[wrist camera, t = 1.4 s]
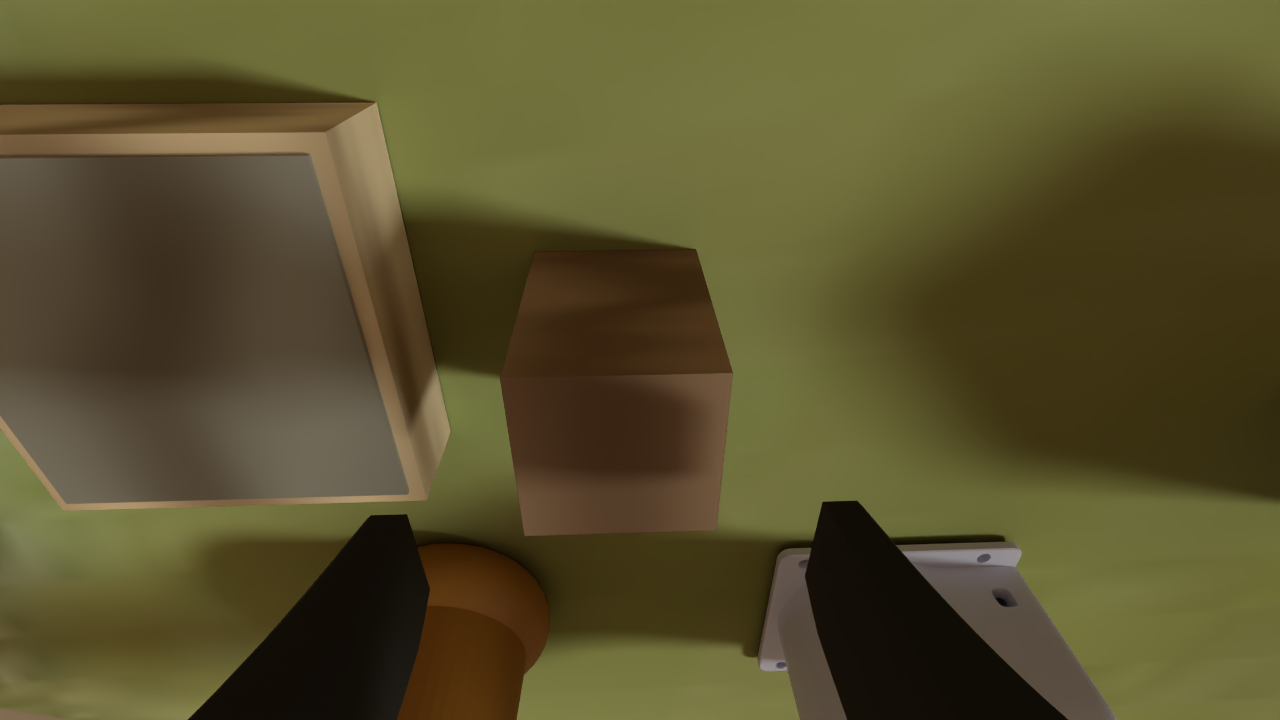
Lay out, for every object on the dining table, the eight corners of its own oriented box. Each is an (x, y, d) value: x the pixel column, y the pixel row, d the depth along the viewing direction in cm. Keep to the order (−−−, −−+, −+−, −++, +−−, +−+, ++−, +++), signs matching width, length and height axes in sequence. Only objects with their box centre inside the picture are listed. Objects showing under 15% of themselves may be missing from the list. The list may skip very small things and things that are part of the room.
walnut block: (695, 249, 16) (733, 373, 11) (688, 380, 19) (716, 529, 14) (534, 251, 16) (499, 378, 11) (547, 383, 19) (524, 536, 14)
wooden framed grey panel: (376, 102, 14) (321, 133, 11) (450, 431, 19) (425, 504, 17) (-69, 105, 14) (-231, 138, 11) (135, 439, 19) (59, 514, 17)
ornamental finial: (403, 656, 26) (330, 545, 22) (569, 635, 26) (526, 519, 22) (333, 888, 20) (211, 792, 16) (555, 865, 19) (489, 760, 15)
